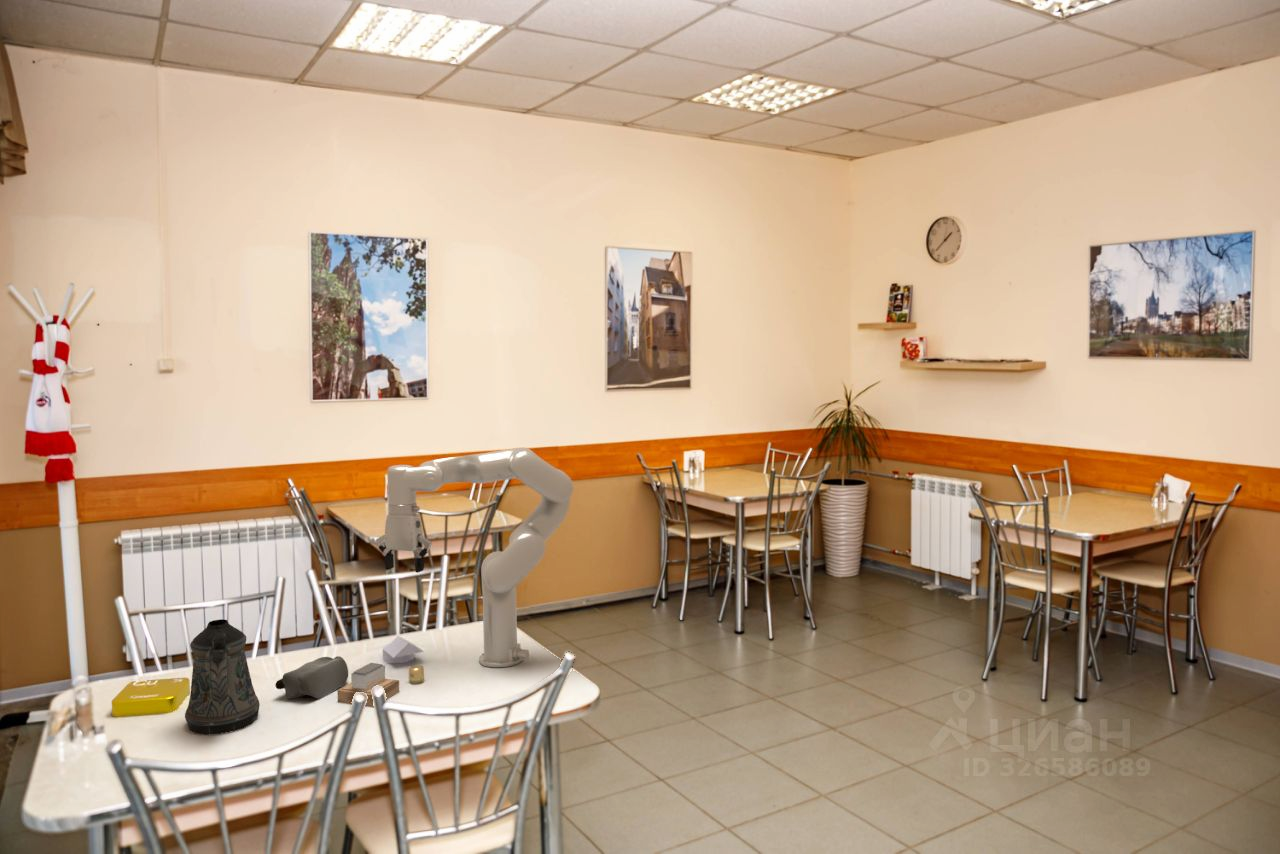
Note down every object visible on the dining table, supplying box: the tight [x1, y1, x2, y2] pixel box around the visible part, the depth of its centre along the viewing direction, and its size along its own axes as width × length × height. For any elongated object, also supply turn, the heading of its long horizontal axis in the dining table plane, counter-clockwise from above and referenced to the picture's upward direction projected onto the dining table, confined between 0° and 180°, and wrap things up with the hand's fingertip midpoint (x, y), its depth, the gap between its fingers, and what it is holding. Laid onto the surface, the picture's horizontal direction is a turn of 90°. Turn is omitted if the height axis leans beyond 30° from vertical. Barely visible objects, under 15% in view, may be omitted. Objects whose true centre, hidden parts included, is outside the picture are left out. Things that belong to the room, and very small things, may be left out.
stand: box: [336, 678, 400, 708], centre depth 240 cm, size 11×11×3 cm
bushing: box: [408, 664, 425, 686], centre depth 250 cm, size 4×4×4 cm
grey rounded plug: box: [275, 655, 349, 699], centre depth 245 cm, size 18×11×8 cm, turn 159°
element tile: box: [111, 677, 191, 718], centre depth 237 cm, size 15×15×5 cm
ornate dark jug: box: [184, 619, 261, 736], centre depth 223 cm, size 16×19×25 cm
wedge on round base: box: [382, 635, 425, 664], centre depth 268 cm, size 9×7×13 cm
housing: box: [350, 662, 386, 691], centre depth 240 cm, size 8×4×4 cm, turn 159°
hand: (404, 570), depth 258 cm, fingers open, 9 cm apart
